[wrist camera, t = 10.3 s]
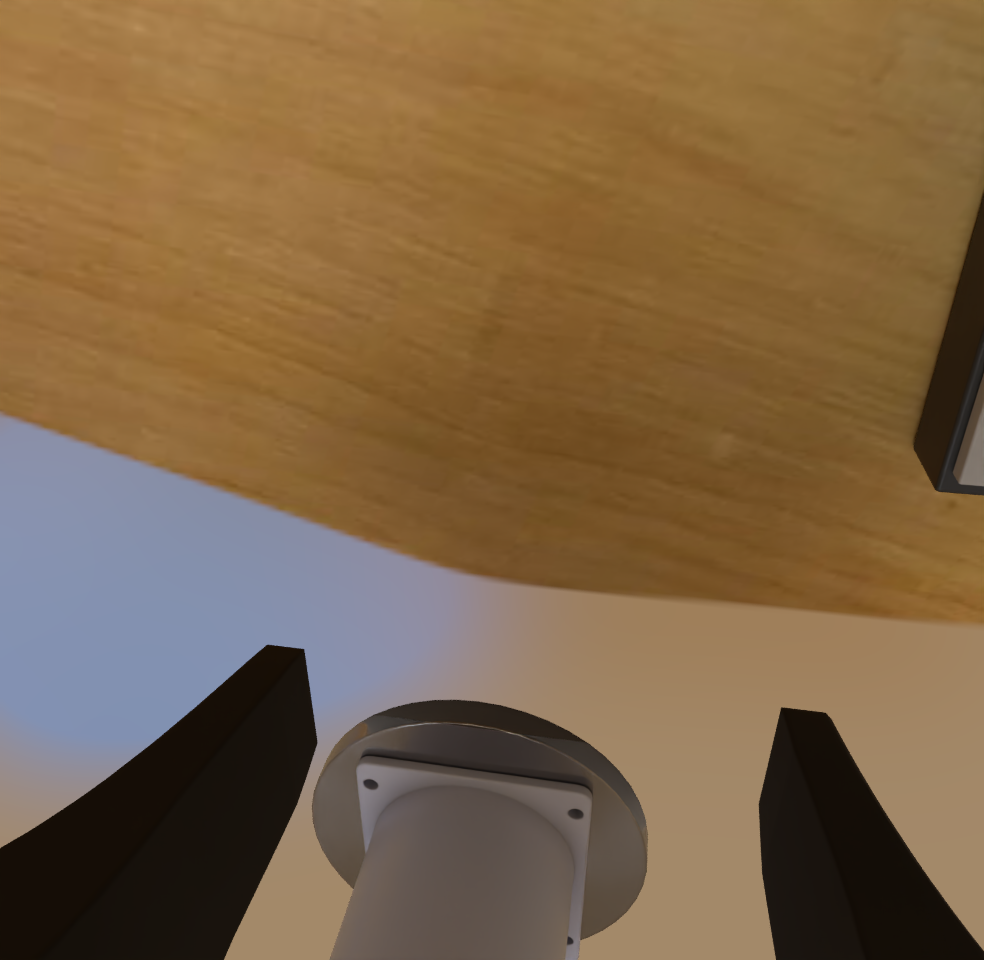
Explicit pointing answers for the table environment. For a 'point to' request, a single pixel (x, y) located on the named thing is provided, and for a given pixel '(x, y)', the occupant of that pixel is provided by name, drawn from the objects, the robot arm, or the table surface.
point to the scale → (959, 388)
